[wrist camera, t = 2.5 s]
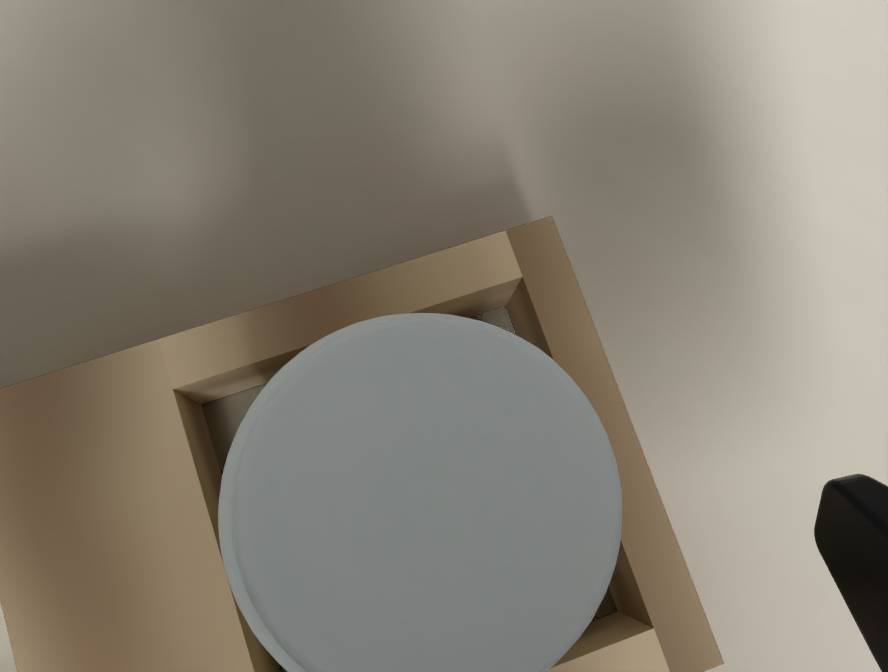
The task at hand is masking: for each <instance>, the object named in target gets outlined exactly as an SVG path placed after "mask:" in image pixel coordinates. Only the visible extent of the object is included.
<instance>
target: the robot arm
mask: <svg viewBox="0 0 888 672" xmlns="http://www.w3.org/2000/svg"><path fill="white" fill-rule="evenodd" d="M814 535H815V541H816V544H817V547H818V549H819V552H820V554H821V556H822V557H823V559H824V561H825V563H826V565H827V567H828V569H829V571H830V573H831V575H832V577H833V579H834V581H835V583H836V585H837V587H838V589H839V591H840V593H841V594H842V596H843V598H844V600H845V602H846V604H847V606H848V608H849V610H850V612H851V614H852V616H853V618H854V620H855V622H856V624H857V626H858V628H859V630H860V631H861V633H862V635H863V637H864V639H865V641H866V643H867V645H868V647H869V649H870V651H871V653H872V655H873V656H874V658H875V660H876V662H877V664H878V665H879V667H880V669H881V671H882V672H888V486H886V485H884V484H883V483H881V482H879V481H877V480H875V479H873V478H871V477H869V476H866V475H863V474H854V475H850V476H845V477H841V478H837V479H833V480H830V481H828V482H827V483H826V484H825V486H824V488H823V491H822V495H821V500H820V504H819V509H818V513H817V518H816V522H815V528H814Z"/></svg>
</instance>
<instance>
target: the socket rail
mask: <svg viewBox="0 0 888 672" xmlns="http://www.w3.org/2000/svg"><path fill="white" fill-rule="evenodd" d="M505 305H506V307H507V310H508V313H509V315H510V318H511V321H512V324H513V326H514V329H515V332H516V334H517V336H519V337H521V338H522V339H524V340H526V341H527V342H529V343H531V344H533V345H534V346H536V347H538V348H539V349H540V350H542V351H543V352H544V353H545V354H547V355H548V356H549V357H550V358H552V359H553V360H554V361H555V362H556V363H557V364H558V365H559V366H560V367H561V368H562V369H563V370H564V371H565V372H566V373H567V374H568V375H569V376H570V377H571V378H572V379H573V381H574V382H575V383H576V384H577V386H578V387H579V388H580V389H581V391H582V392H583V393H584V394H585V396H586V397H587V399H588V400H589V402H590V404H591V405H592V407H593V408H594V410H595V412H596V413H597V415H598V417H599V419H600V421H601V423H602V425H603V427H604V430H605V432H606V434H607V436H608V439H609V442H610V444H611V447H612V450H613V453H614V456H615V459H616V462H617V467H618V473H619V478H620V484H621V492H622V528H621V542H620V547H619V552H618V557H617V562H616V565H615V568H614V571H613V575H612V578H611V581H610V584H609V588H610V591H611V593H612V596H613V599H614V602H615V604H616V607H617V610H618V612H616V613H613V614H611V615H608V616H606V617H603V618H600V619H598V620H595V621H593V622H590V624H589V625H588V626H587V628H586V629H585V631H584V632H583V633H582V635H581V636H580V638H579V639H578V640H577V641H576V642H575V643H574V644H573V645H572V646H571V648H570V649H569V650H568V651H567V652H566V653H565V654H564V655H563V656H562V657H561V658H560V659H559V660H558V661H557V662H556V663H555V664H554V665H553V666H552V667H551V668H550V669H549V670H548V671H546V672H703V671H706V670H708V669H711V668H713V667H716V666H719V665H721V664H724V662H723V659H722V657H721V654H720V651H719V649H718V646H717V644H716V641H715V638H714V636H713V633H712V631H711V628H710V625H709V623H708V620H707V618H706V615H705V612H704V610H703V607H702V605H701V602H700V599H699V597H698V594H697V592H696V589H695V586H694V584H693V581H692V579H691V576H690V573H689V571H688V568H687V566H686V563H685V560H684V558H683V555H682V553H681V550H680V547H679V545H678V542H677V540H676V537H675V534H674V532H673V529H672V527H671V524H670V521H669V519H668V516H667V514H666V511H665V508H664V506H663V503H662V501H661V498H660V495H659V493H658V490H657V488H656V485H655V482H654V480H653V477H652V475H651V472H650V469H649V467H648V464H647V462H646V459H645V456H644V454H643V451H642V449H641V446H640V443H639V441H638V438H637V436H636V433H635V430H634V428H633V425H632V423H631V420H630V417H629V415H628V412H627V410H626V407H625V404H624V402H623V399H622V397H621V394H620V391H619V389H618V386H617V383H616V381H615V378H614V376H613V373H612V370H611V368H610V365H609V363H608V360H607V357H606V355H605V352H604V350H603V347H602V344H601V342H600V339H599V337H598V334H597V331H596V329H595V326H594V324H593V321H592V318H591V316H590V313H589V311H588V308H587V305H586V303H585V300H584V298H583V295H582V292H581V290H580V287H579V285H578V282H577V279H576V277H575V274H574V272H573V269H572V266H571V264H570V261H569V259H568V256H567V253H566V251H565V248H564V246H563V243H562V240H561V238H560V235H559V233H558V230H557V227H556V225H555V222H554V220H553V217H552V216H550V217H546V218H543V219H540V220H537V221H534V222H530V223H527V224H524V225H521V226H518V227H515V228H511V229H508V230H505V231H502V232H499V233H495V234H492V235H489V236H486V237H483V238H479V239H476V240H473V241H470V242H467V243H463V244H460V245H457V246H454V247H451V248H447V249H444V250H441V251H438V252H435V253H431V254H428V255H425V256H422V257H419V258H416V259H412V260H409V261H406V262H403V263H400V264H396V265H393V266H390V267H387V268H384V269H380V270H377V271H374V272H371V273H368V274H364V275H361V276H358V277H355V278H352V279H348V280H345V281H342V282H339V283H336V284H332V285H329V286H326V287H323V288H320V289H316V290H313V291H310V292H307V293H304V294H301V295H297V296H294V297H291V298H288V299H285V300H281V301H278V302H275V303H272V304H269V305H265V306H262V307H259V308H256V309H253V310H249V311H246V312H243V313H240V314H237V315H233V316H230V317H227V318H224V319H221V320H217V321H214V322H211V323H208V324H205V325H202V326H198V327H195V328H192V329H189V330H186V331H182V332H179V333H176V334H173V335H170V336H166V337H163V338H160V339H157V340H154V341H150V342H147V343H144V344H141V345H138V346H134V347H131V348H128V349H125V350H122V351H118V352H115V353H112V354H109V355H106V356H103V357H99V358H96V359H93V360H90V361H87V362H83V363H80V364H77V365H74V366H71V367H67V368H64V369H61V370H58V371H55V372H51V373H48V374H45V375H42V376H39V377H35V378H32V379H29V380H26V381H23V382H19V383H16V384H13V385H10V386H7V387H3V388H0V601H1V606H2V610H3V614H4V618H5V622H6V626H7V630H8V635H9V639H10V643H11V647H12V651H13V655H14V660H15V664H16V668H17V672H280V671H279V667H278V664H277V661H276V660H275V659H274V658H273V657H272V655H271V654H270V653H269V652H268V651H267V650H266V649H265V647H264V646H263V645H262V644H261V642H260V641H259V640H258V638H257V637H256V636H255V635H254V633H253V632H252V630H251V628H250V626H249V625H248V623H247V621H246V619H245V618H244V616H243V614H242V612H241V610H240V609H239V607H238V604H237V602H236V600H235V597H234V595H233V593H232V590H231V587H230V584H229V581H228V578H227V575H226V572H225V568H224V564H223V559H222V554H221V548H220V539H219V530H218V506H219V496H220V488H221V481H222V473H221V470H220V466H219V463H218V460H217V456H216V453H215V449H214V446H213V443H212V439H211V436H210V432H209V429H208V426H207V422H206V419H205V415H204V412H203V409H202V405H201V404H204V403H207V402H210V401H213V400H216V399H219V398H222V397H225V396H228V395H231V394H234V393H237V392H240V391H244V390H247V389H250V388H253V387H256V386H259V385H262V384H265V383H268V382H269V381H270V380H271V379H272V377H273V376H274V375H275V374H276V373H277V372H278V371H279V370H280V369H281V368H282V367H283V366H284V365H286V364H287V363H288V362H289V361H290V360H292V359H293V358H294V357H295V356H296V355H298V354H299V353H300V352H302V351H303V350H304V349H306V348H307V347H308V346H310V345H311V344H313V343H315V342H317V341H318V340H320V339H322V338H323V337H325V336H327V335H329V334H331V333H333V332H336V331H338V330H340V329H342V328H345V327H347V326H350V325H352V324H355V323H358V322H361V321H365V320H369V319H372V318H376V317H381V316H387V315H394V314H405V313H439V314H448V315H455V316H461V317H466V318H468V317H471V316H474V315H477V314H480V313H483V312H486V311H490V310H493V309H496V308H499V307H502V306H505Z"/></svg>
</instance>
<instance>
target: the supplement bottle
mask: <svg viewBox="0 0 888 672" xmlns="http://www.w3.org/2000/svg"><path fill="white" fill-rule="evenodd" d="M621 528H622V492H621V484H620V478H619V473H618V467H617V462H616V459H615V456H614V453H613V450H612V447H611V444H610V442H609V439H608V436H607V434H606V432H605V430H604V427H603V425H602V423H601V421H600V419H599V417H598V415H597V413H596V412H595V410H594V408H593V407H592V405H591V404H590V402H589V400H588V399H587V397H586V396H585V394H584V393H583V392H582V391H581V389H580V388H579V387H578V386H577V384H576V383H575V382H574V381H573V379H572V378H571V377H570V376H569V375H568V374H567V373H566V372H565V371H564V370H563V369H562V368H561V367H560V366H559V365H558V364H557V363H556V362H555V361H554V360H553V359H552V358H550V357H549V356H548V355H547V354H545V353H544V352H543V351H542V350H540V349H539V348H538V347H536V346H534V345H533V344H531V343H529V342H527V341H526V340H524V339H522V338H521V337H519V336H517V335H515V334H512V333H510V332H508V331H506V330H504V329H502V328H500V327H497V326H495V325H492V324H489V323H486V322H483V321H479V320H475V319H470V318H466V317H461V316H455V315H448V314H439V313H405V314H394V315H387V316H381V317H376V318H372V319H369V320H365V321H361V322H358V323H355V324H352V325H350V326H347V327H345V328H342V329H340V330H338V331H336V332H333V333H331V334H329V335H327V336H325V337H323V338H322V339H320V340H318V341H317V342H315V343H313V344H311V345H310V346H308V347H307V348H306V349H304V350H303V351H302V352H300V353H299V354H298V355H296V356H295V357H294V358H293V359H292V360H290V361H289V362H288V363H287V364H286V365H284V366H283V367H282V368H281V369H280V370H279V371H278V372H277V373H276V374H275V375H274V376H273V377H272V379H271V380H270V381H269V382H268V383H267V384H266V386H265V387H264V388H263V389H262V390H261V392H260V393H259V394H258V396H257V397H256V399H255V400H254V402H253V403H252V405H251V406H250V408H249V410H248V411H247V413H246V415H245V417H244V419H243V420H242V422H241V424H240V426H239V428H238V430H237V432H236V435H235V437H234V440H233V442H232V445H231V448H230V450H229V453H228V456H227V459H226V463H225V467H224V471H223V475H222V481H221V488H220V496H219V506H218V530H219V539H220V548H221V554H222V559H223V564H224V568H225V572H226V575H227V578H228V581H229V584H230V587H231V590H232V593H233V595H234V597H235V600H236V602H237V604H238V607H239V609H240V610H241V612H242V614H243V616H244V618H245V619H246V621H247V623H248V625H249V626H250V628H251V630H252V632H253V633H254V635H255V636H256V637H257V638H258V640H259V641H260V642H261V644H262V645H263V646H264V647H265V649H266V650H267V651H268V652H269V653H270V654H271V655H272V657H273V658H274V659H275V660H276V661H277V662H278V663H279V664H280V665H281V666H282V667H283V668H284V669H285V670H286V671H287V672H546V671H548V670H549V669H550V668H551V667H552V666H553V665H554V664H555V663H556V662H557V661H558V660H559V659H560V658H561V657H562V656H563V655H564V654H565V653H566V652H567V651H568V650H569V649H570V648H571V646H572V645H573V644H574V643H575V642H576V641H577V640H578V639H579V638H580V636H581V635H582V633H583V632H584V631H585V629H586V628H587V626H588V625H589V624H590V622H591V621H592V619H593V617H594V615H595V613H596V611H597V609H598V607H599V605H600V604H601V602H602V600H603V598H604V596H605V593H606V591H607V588H608V586H609V584H610V581H611V578H612V575H613V571H614V568H615V565H616V562H617V557H618V552H619V547H620V542H621Z"/></svg>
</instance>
